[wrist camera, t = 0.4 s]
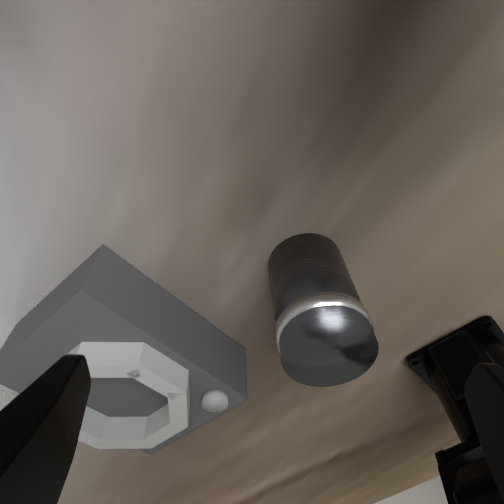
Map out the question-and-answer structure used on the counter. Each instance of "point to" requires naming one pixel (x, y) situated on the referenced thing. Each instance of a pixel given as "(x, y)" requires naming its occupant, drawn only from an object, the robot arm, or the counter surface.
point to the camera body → (129, 355)
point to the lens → (318, 313)
